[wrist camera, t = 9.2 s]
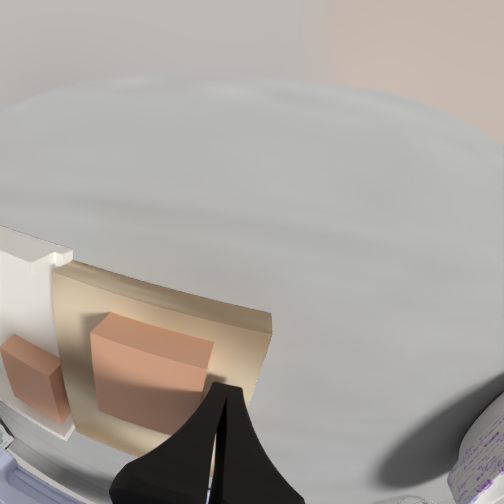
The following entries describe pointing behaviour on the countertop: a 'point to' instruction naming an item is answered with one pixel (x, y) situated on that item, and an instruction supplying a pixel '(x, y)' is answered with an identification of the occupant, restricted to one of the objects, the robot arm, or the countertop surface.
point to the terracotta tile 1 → (36, 377)
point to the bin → (29, 309)
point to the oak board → (157, 314)
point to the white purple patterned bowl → (481, 459)
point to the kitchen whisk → (418, 502)
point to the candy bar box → (5, 436)
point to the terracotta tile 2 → (148, 372)
